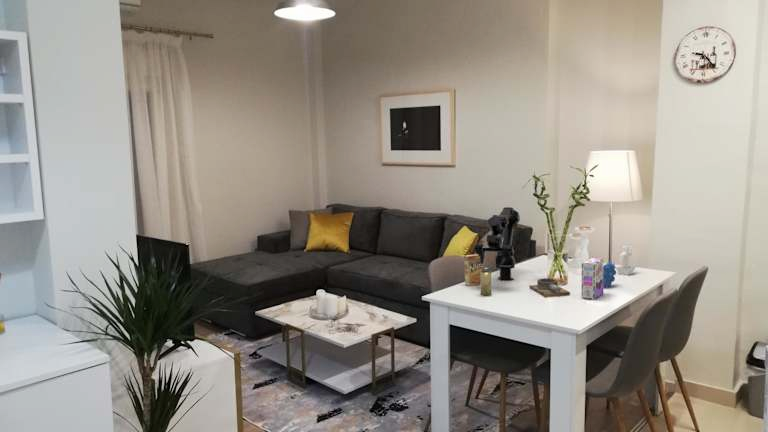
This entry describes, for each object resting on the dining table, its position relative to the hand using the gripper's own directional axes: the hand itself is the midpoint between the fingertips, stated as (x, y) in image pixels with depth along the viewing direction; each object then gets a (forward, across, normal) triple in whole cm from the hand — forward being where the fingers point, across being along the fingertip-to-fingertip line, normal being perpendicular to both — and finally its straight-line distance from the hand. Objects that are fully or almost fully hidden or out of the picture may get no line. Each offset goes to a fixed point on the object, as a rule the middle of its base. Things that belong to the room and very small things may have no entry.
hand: (490, 264), depth 278 cm
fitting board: (+5, +26, +14) cm, 30 cm away
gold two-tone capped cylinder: (+15, 0, +3) cm, 15 cm away
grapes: (-8, +50, +27) cm, 57 cm away
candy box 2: (+7, +46, +12) cm, 48 cm away
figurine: (-29, +56, +50) cm, 81 cm away
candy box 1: (+2, -12, +17) cm, 21 cm away
